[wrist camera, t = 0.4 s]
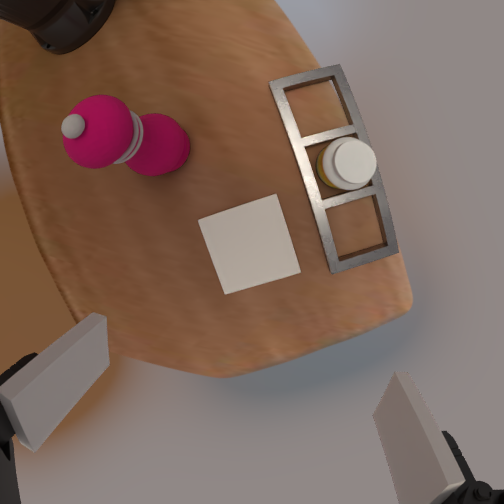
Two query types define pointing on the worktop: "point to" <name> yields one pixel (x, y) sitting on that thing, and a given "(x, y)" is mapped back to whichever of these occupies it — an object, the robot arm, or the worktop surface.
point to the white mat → (250, 244)
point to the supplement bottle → (346, 164)
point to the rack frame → (308, 178)
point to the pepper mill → (123, 137)
